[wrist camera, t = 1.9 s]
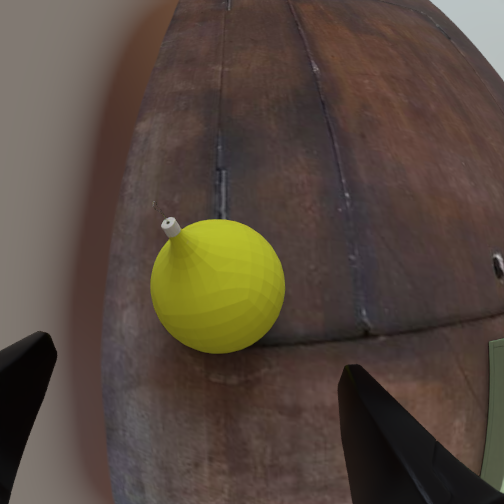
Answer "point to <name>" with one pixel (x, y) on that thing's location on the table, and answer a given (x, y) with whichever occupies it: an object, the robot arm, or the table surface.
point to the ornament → (216, 285)
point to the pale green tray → (495, 420)
